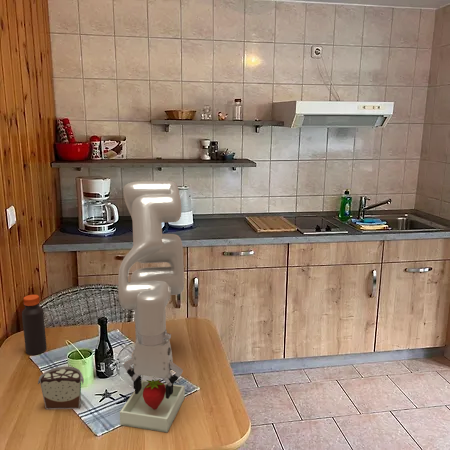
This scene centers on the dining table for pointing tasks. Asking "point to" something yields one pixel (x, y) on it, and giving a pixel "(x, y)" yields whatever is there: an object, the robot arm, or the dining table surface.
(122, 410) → the serving tray
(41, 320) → the bottle
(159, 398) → the strawberry
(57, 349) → the dining table surface
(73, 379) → the food container
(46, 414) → the dining table surface
